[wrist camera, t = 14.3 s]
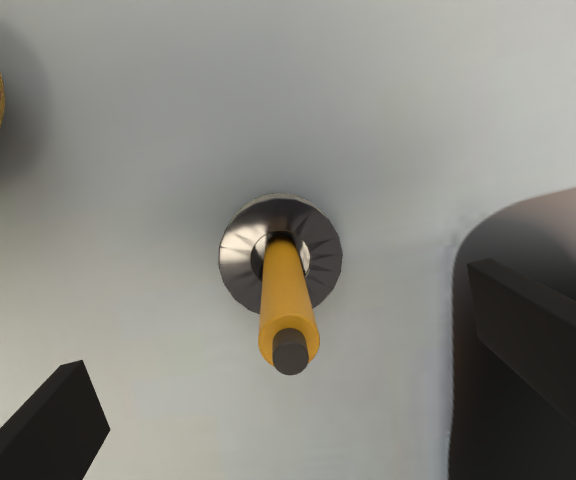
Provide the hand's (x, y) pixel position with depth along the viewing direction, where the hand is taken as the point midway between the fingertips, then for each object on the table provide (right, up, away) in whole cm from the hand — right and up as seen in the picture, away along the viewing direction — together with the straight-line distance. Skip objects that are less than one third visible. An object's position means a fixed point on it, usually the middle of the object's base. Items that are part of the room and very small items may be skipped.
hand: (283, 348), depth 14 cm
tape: (0, +3, +15) cm, 15 cm away
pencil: (0, +3, +14) cm, 15 cm away
